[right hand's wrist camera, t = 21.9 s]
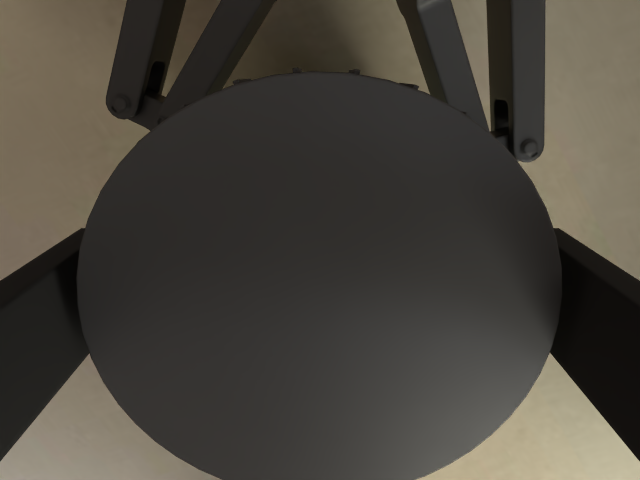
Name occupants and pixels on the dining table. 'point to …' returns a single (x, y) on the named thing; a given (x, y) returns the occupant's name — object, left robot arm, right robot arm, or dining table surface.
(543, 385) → the dining table surface
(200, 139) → the lid
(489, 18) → the left robot arm
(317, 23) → the dining table surface
